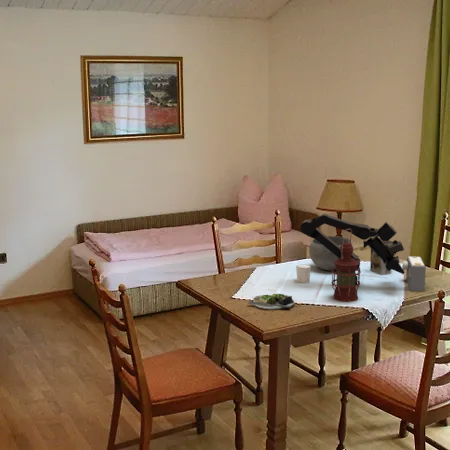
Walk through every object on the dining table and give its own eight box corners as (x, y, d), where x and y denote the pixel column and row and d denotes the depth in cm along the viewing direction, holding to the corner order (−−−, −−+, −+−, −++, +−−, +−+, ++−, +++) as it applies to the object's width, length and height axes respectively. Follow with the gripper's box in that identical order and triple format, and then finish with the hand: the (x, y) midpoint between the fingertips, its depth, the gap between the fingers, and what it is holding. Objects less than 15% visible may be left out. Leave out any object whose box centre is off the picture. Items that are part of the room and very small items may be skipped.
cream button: (403, 270, 290) (403, 262, 289) (402, 268, 294) (402, 260, 293) (409, 270, 289) (410, 262, 289) (409, 268, 293) (409, 260, 293)
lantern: (350, 304, 262) (352, 233, 256) (325, 298, 270) (326, 229, 264) (365, 297, 271) (367, 228, 265) (340, 291, 279) (341, 225, 273)
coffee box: (369, 270, 311) (370, 238, 308) (380, 269, 314) (381, 237, 311) (381, 275, 303) (382, 242, 300) (392, 273, 306) (393, 241, 302)
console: (410, 290, 278) (411, 265, 276) (406, 279, 296) (407, 255, 293) (424, 291, 277) (425, 265, 275) (419, 279, 294) (420, 255, 292)
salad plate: (250, 313, 254) (250, 302, 253) (244, 299, 272) (244, 289, 271) (297, 311, 256) (297, 300, 255) (289, 297, 273) (289, 287, 272)
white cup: (293, 281, 295) (293, 267, 293) (299, 278, 301) (299, 263, 299) (307, 283, 292) (307, 268, 290) (312, 279, 297) (313, 265, 296)
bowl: (302, 265, 322) (303, 237, 319) (339, 262, 328) (339, 233, 325) (320, 276, 303) (321, 245, 300) (358, 272, 309) (359, 242, 306)
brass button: (410, 278, 278) (410, 269, 277) (409, 275, 282) (409, 266, 281) (417, 278, 278) (417, 269, 277) (416, 275, 281) (416, 267, 281)
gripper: (395, 240, 269) (420, 266, 269) (391, 231, 287) (415, 256, 287) (375, 257, 272) (400, 283, 272) (373, 247, 290) (396, 271, 290)
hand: (403, 273), depth 280 cm, fingers closed
